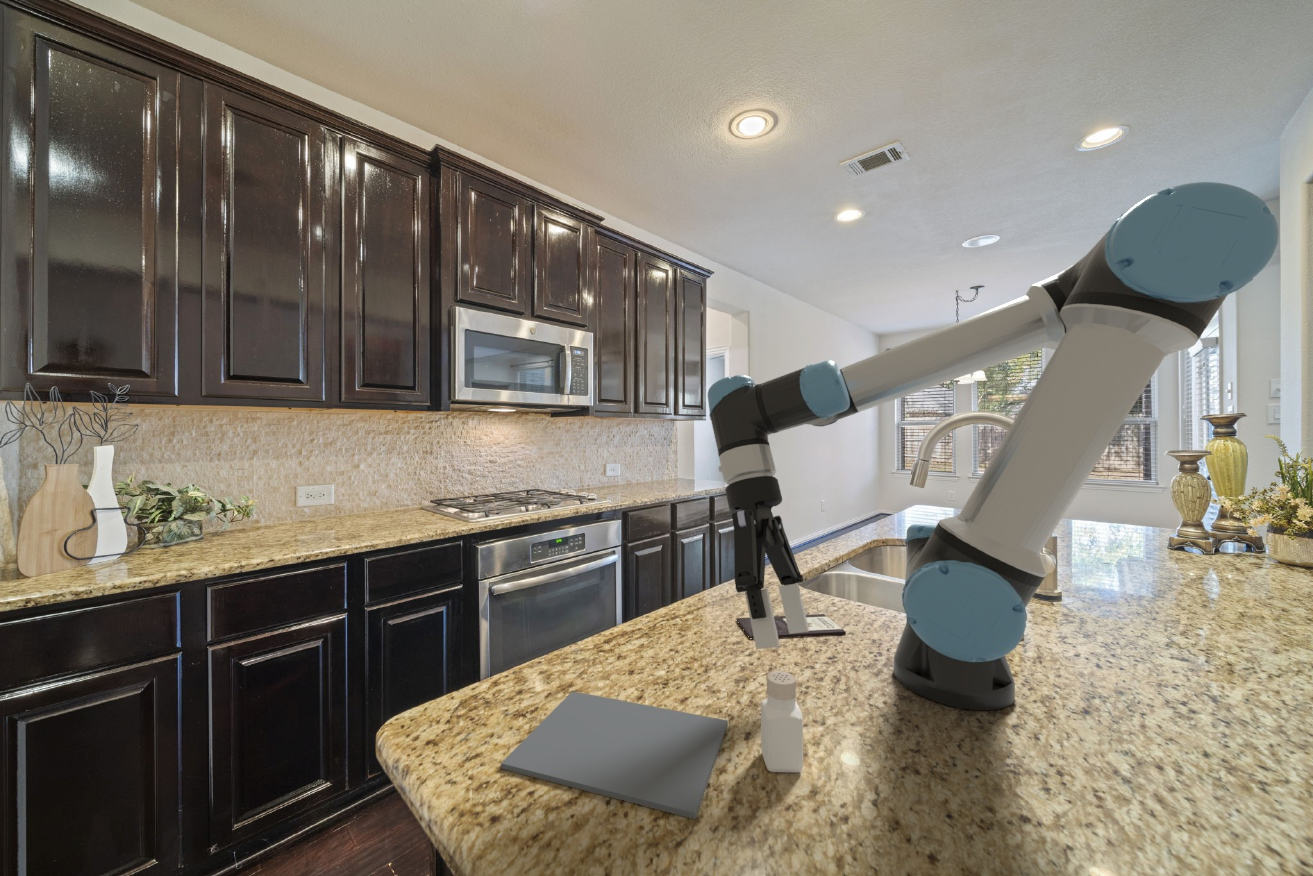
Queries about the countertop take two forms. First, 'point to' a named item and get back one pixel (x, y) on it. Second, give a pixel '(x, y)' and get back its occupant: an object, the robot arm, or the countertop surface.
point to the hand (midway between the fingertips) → (785, 639)
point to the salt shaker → (781, 725)
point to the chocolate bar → (816, 626)
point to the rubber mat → (623, 752)
